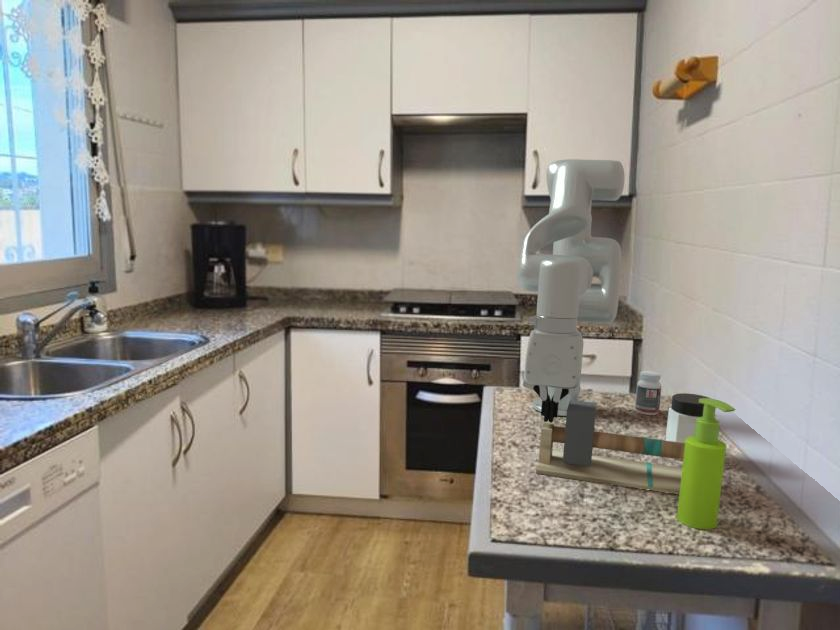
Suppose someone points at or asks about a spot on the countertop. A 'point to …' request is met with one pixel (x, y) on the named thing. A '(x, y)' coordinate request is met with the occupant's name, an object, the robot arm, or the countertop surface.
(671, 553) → the countertop surface
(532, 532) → the countertop surface
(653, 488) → the pipe rig
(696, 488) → the soap dispenser
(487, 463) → the countertop surface
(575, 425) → the collar
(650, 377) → the pill bottle
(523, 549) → the countertop surface
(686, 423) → the jar
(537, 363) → the robot arm
